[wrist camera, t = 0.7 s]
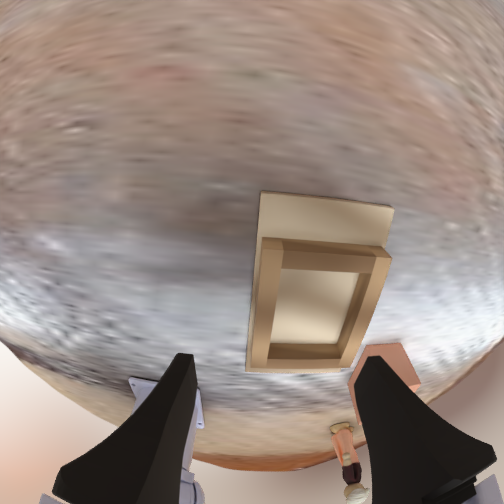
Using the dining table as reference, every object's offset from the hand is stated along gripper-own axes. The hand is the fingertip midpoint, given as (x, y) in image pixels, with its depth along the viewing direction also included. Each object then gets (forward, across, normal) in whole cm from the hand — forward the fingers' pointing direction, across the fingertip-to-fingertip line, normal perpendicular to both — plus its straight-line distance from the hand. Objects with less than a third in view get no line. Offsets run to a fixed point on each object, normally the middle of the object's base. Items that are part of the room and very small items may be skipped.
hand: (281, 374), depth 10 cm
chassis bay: (+10, -3, +3) cm, 10 cm away
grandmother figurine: (+10, -13, +26) cm, 31 cm away
